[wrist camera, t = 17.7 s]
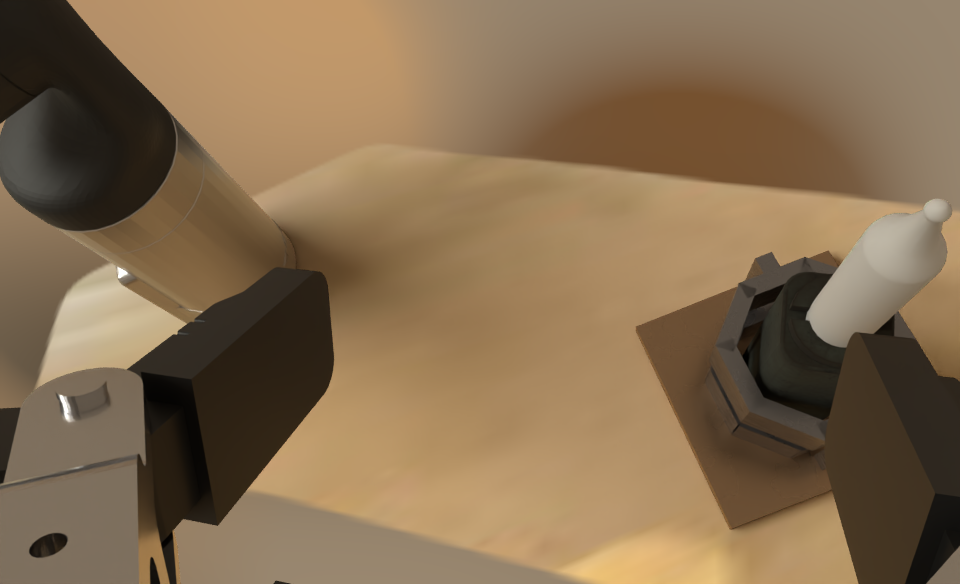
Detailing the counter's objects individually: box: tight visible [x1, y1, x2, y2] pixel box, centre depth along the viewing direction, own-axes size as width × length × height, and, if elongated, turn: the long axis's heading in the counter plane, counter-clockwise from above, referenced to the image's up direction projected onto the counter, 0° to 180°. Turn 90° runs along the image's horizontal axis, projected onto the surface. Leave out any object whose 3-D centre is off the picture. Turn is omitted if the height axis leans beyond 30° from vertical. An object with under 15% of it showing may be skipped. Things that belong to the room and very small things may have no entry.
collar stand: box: [636, 251, 919, 529], centre depth 44 cm, size 14×14×9 cm
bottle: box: [743, 199, 952, 420], centre depth 36 cm, size 5×5×25 cm
